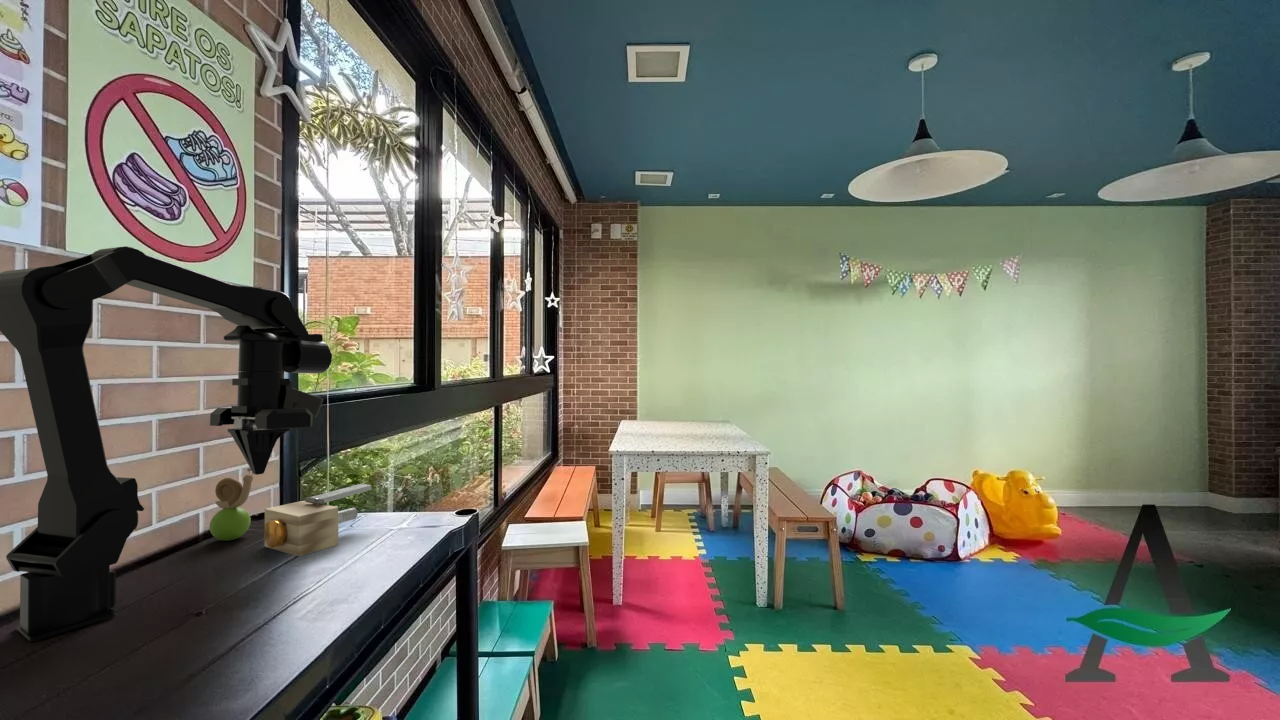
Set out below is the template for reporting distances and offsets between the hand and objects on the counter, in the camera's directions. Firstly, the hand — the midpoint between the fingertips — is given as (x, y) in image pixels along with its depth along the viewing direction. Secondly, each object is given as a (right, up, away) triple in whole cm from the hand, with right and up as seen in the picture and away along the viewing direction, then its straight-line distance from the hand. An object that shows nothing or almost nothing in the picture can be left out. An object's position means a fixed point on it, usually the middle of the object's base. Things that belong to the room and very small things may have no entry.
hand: (258, 474), depth 80 cm
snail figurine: (-10, -13, +8) cm, 18 cm away
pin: (+5, -11, +6) cm, 14 cm away
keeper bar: (+7, -6, +10) cm, 13 cm away
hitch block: (+4, -12, +4) cm, 14 cm away
